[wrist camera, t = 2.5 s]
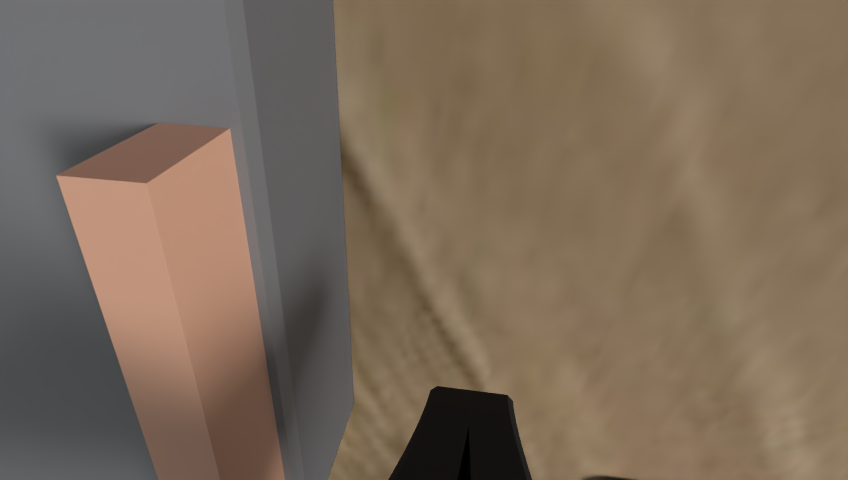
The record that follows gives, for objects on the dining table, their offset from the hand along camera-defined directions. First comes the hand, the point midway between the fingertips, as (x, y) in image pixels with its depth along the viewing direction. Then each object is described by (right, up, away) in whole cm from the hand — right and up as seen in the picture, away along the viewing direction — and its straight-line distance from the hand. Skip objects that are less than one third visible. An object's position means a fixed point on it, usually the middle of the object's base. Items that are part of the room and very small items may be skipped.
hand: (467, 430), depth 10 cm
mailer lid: (-10, +2, +2) cm, 10 cm away
